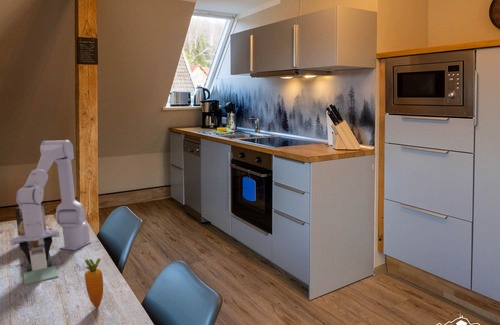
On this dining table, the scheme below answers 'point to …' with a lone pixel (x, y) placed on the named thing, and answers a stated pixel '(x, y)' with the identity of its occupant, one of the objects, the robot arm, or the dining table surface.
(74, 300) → the dining table surface
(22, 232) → the coffee box
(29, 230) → the robot arm
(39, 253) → the lever cap
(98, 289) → the carrot
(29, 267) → the hand plane
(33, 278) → the mat
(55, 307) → the dining table surface
